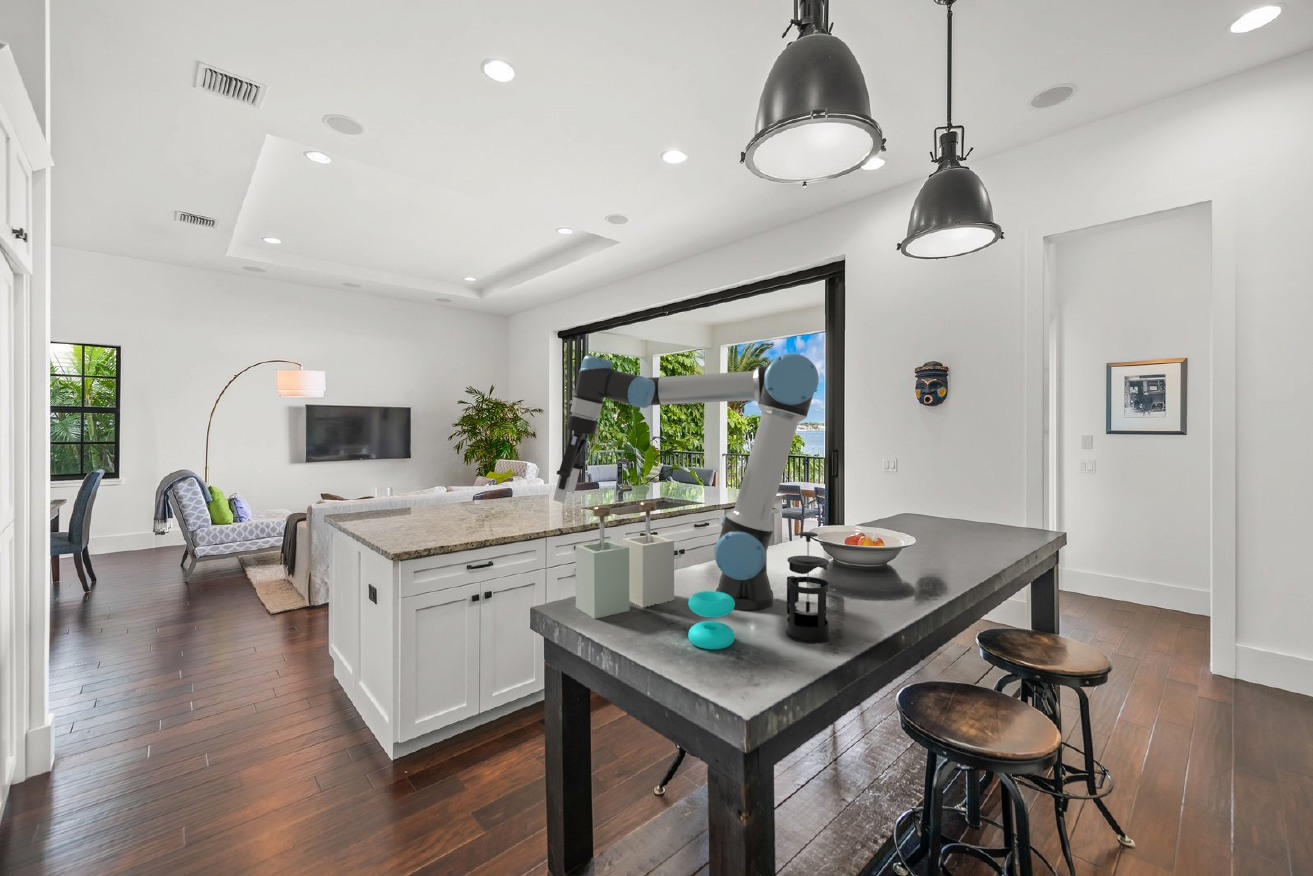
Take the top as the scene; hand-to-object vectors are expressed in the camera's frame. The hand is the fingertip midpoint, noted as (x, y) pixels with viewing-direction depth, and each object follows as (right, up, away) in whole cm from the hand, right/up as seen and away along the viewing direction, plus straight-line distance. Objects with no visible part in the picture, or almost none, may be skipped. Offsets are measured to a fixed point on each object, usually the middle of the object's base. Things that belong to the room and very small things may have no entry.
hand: (564, 496), depth 143 cm
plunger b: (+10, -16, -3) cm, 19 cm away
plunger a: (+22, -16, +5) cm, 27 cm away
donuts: (+36, -29, -23) cm, 52 cm away
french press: (+57, -29, -19) cm, 67 cm away
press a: (+22, -28, +6) cm, 36 cm away
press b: (+10, -28, -2) cm, 30 cm away
